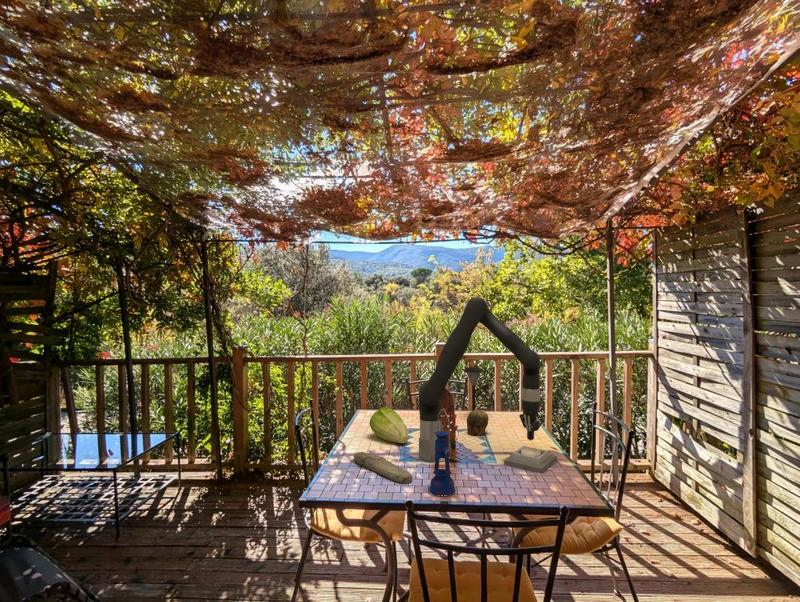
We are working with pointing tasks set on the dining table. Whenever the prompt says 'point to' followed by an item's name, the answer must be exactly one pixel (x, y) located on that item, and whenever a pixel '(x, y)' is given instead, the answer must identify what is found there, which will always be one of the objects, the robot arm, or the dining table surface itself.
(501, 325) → the robot arm
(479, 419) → the brown rounded block
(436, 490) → the lantern
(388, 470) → the long grey stone
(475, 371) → the solar garden light
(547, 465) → the button plate
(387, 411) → the lettuce
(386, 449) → the dining table surface
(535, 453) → the button
